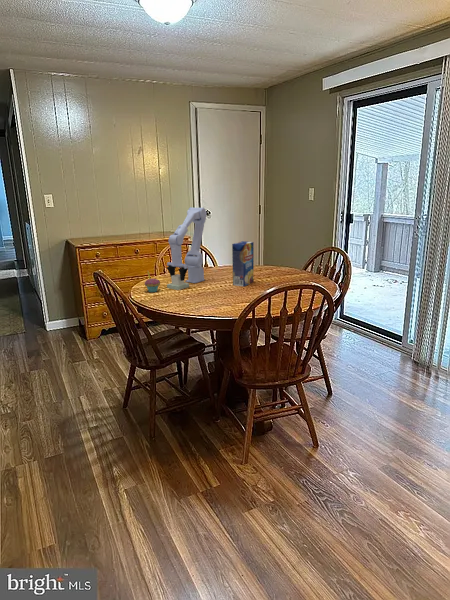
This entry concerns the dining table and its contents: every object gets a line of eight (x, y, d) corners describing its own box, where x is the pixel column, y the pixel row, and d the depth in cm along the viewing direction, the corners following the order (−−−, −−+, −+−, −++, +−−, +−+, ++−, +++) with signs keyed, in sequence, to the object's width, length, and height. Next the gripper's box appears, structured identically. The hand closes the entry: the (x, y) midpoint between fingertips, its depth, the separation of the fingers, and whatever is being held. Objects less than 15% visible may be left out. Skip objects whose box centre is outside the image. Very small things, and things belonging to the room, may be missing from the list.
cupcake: (145, 293, 222) (144, 272, 219) (144, 289, 230) (142, 269, 227) (161, 292, 224) (160, 271, 221) (159, 288, 232) (158, 268, 229)
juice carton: (244, 286, 233) (243, 244, 226) (232, 285, 237) (232, 244, 230) (253, 282, 243) (253, 241, 236) (242, 280, 246) (242, 241, 240)
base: (178, 284, 240) (178, 281, 240) (189, 286, 235) (189, 283, 234) (167, 287, 234) (166, 284, 233) (178, 290, 228) (178, 286, 228)
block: (177, 282, 237) (177, 274, 236) (184, 283, 234) (183, 275, 233) (171, 284, 233) (171, 275, 232) (178, 285, 230) (177, 276, 229)
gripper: (162, 255, 230) (163, 279, 234) (180, 258, 222) (182, 282, 226) (171, 254, 236) (172, 276, 240) (189, 256, 227) (190, 280, 231)
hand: (177, 279), depth 233 cm, fingers open, 7 cm apart
